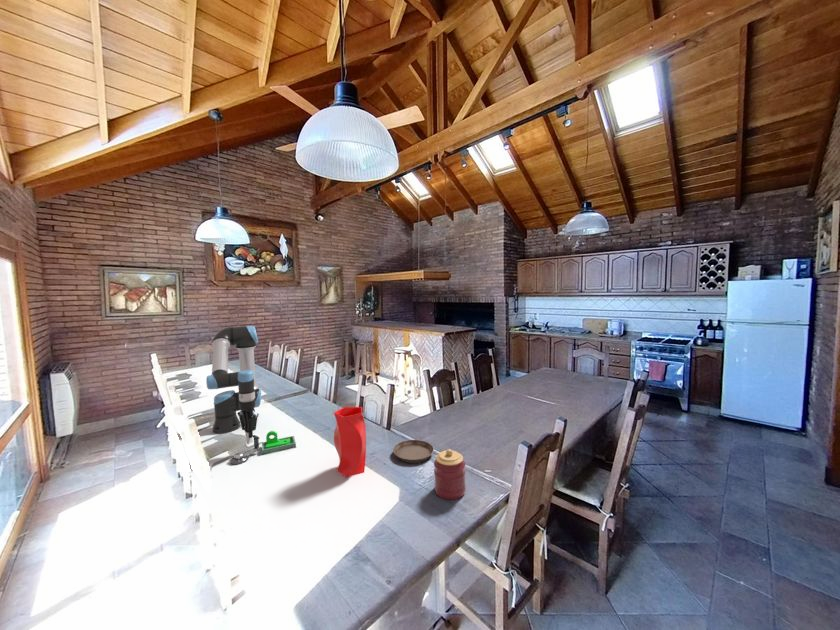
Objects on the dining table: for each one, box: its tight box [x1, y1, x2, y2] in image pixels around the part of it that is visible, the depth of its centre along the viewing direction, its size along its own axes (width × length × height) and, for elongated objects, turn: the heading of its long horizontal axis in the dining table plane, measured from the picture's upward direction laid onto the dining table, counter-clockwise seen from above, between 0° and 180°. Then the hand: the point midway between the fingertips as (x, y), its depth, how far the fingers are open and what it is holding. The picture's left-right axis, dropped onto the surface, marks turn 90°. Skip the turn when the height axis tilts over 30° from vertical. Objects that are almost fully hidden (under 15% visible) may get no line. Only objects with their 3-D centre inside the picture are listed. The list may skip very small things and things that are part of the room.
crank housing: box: [229, 455, 249, 466], centre depth 164 cm, size 8×8×1 cm
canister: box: [433, 448, 467, 500], centre depth 134 cm, size 13×13×18 cm
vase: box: [333, 406, 367, 478], centre depth 152 cm, size 15×14×28 cm
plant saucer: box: [392, 439, 435, 464], centre depth 166 cm, size 21×21×3 cm
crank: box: [233, 434, 261, 460], centre depth 167 cm, size 12×5×8 cm, turn 142°
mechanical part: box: [265, 430, 290, 449], centre depth 178 cm, size 12×6×8 cm, turn 112°
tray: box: [261, 435, 297, 456], centre depth 178 cm, size 11×17×2 cm, turn 117°
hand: (249, 443), depth 172 cm, fingers closed
